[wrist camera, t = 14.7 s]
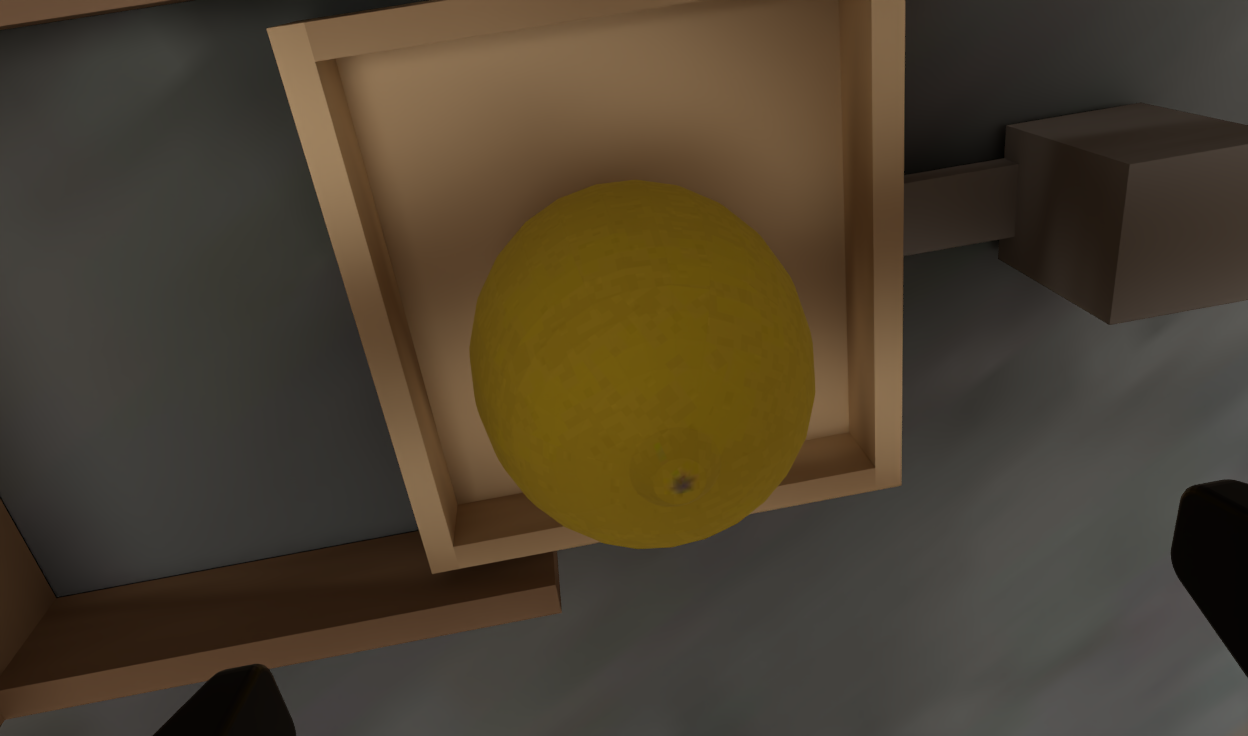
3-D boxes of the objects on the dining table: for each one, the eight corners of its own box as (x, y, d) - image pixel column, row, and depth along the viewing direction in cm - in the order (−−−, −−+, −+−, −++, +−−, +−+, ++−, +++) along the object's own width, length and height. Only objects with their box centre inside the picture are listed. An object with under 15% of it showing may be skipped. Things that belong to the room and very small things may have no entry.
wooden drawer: (1103, 392, 21) (1224, 479, 18) (440, 515, 20) (424, 631, 17) (1168, -116, 16) (1354, -140, 13) (297, 20, 15) (232, 36, 12)
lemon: (570, 435, 19) (606, 714, 12) (424, 235, 17) (359, 433, 10) (784, 311, 19) (957, 528, 11) (662, 85, 16) (783, 178, 9)
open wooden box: (555, 531, 22) (581, 870, 13) (37, 629, 21) (-262, 1045, 13) (422, -85, 15) (322, -145, 7) (-318, 27, 15) (-1320, 97, 7)
